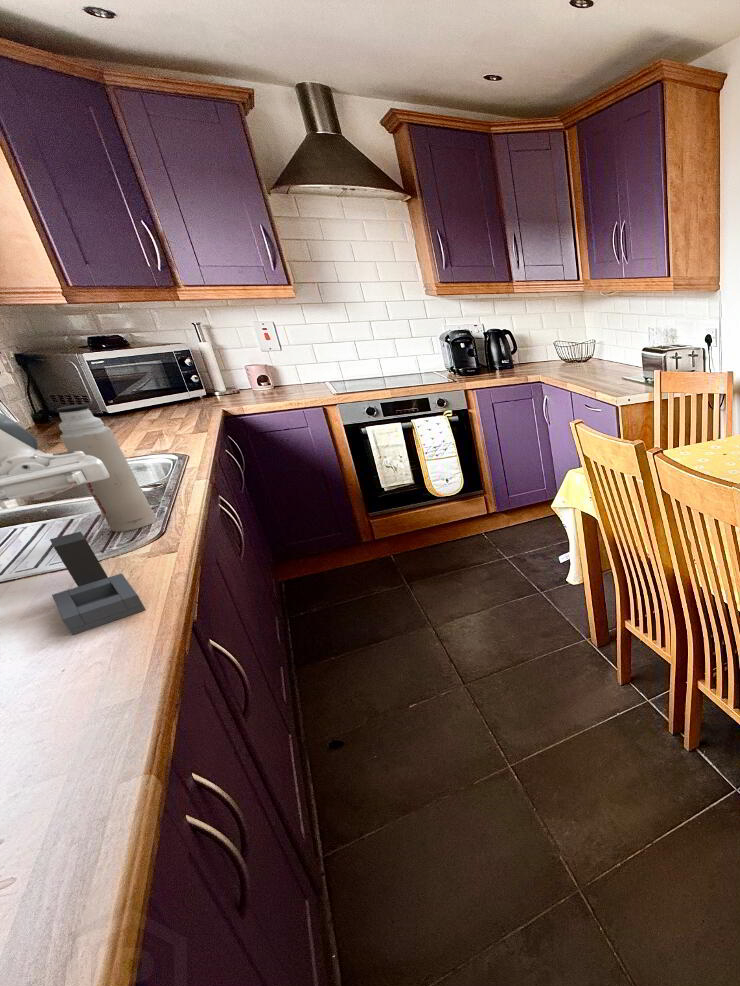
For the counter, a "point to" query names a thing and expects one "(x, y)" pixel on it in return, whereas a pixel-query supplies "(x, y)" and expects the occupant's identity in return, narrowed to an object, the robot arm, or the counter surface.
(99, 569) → the dark grey rectangular block
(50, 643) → the counter surface
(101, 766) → the counter surface
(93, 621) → the slotted base pad
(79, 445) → the thermos bottle
